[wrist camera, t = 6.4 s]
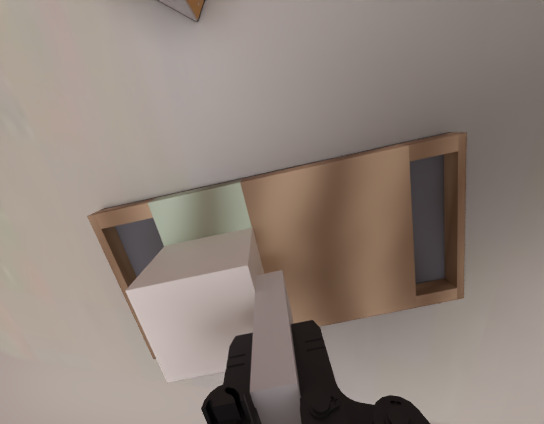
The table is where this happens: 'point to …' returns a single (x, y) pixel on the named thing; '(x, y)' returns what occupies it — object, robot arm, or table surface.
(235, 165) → the table surface
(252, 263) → the block
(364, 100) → the table surface
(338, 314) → the board
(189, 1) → the small box
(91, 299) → the table surface
